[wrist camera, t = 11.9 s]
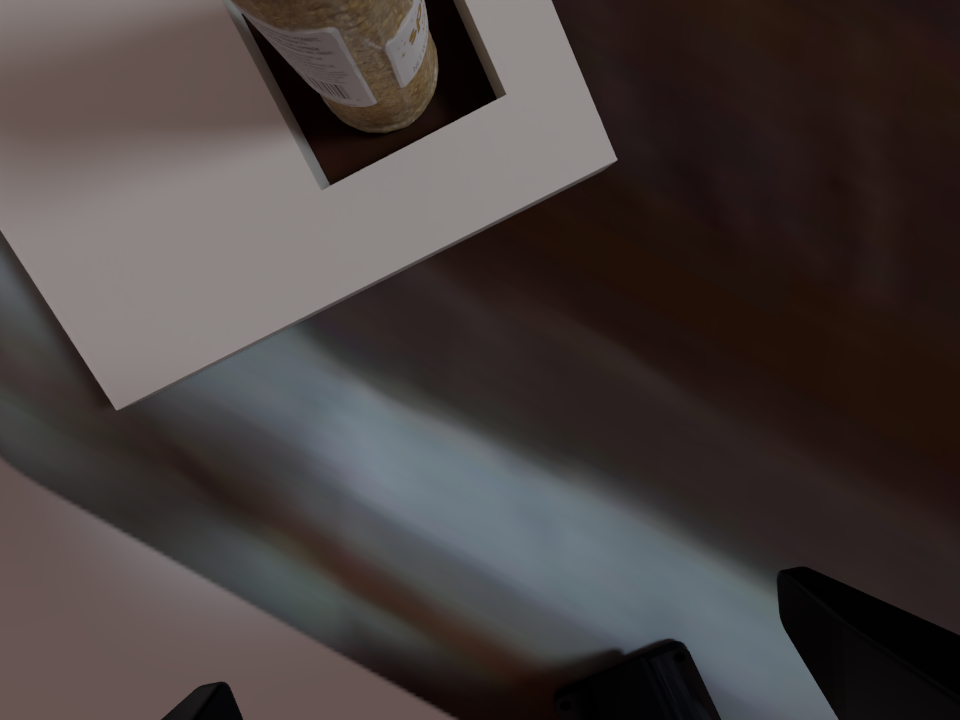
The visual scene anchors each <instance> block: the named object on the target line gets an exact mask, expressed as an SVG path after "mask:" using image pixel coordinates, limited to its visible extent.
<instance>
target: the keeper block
mask: <svg viewBox="0 0 960 720" xmlns="http://www.w3.org/2000/svg"><path fill="white" fill-rule="evenodd" d="M453 1H454V3H455V5H456V8H457V10H458V12H459V14H460V17H461V19H462V21H463V23H464V26H465V28H466V30H467V32H468V35H469V37H470V39H471V41H472V44H473V46H474V48H475V50H476V53H477V55H478V57H479V59H480V62H481V64H482V66H483V68H484V71H485V73H486V75H487V77H488V80H489V82H490V84H491V86H492V89H493V91H494V93H495V95H496V98H497V100H495V101H493V102H491V103H489V104H487V105H485V106H483V107H481V108H479V109H478V110H476V111H474V112H472V113H470V114H468V115H466V116H464V117H462V118H460V119H458V120H456V121H454V122H452V123H451V124H449V125H447V126H445V127H443V128H441V129H439V130H437V131H435V132H433V133H431V134H429V135H427V136H425V137H424V138H422V139H420V140H418V141H416V142H414V143H412V144H410V145H408V146H406V147H404V148H402V149H400V150H399V151H397V152H395V153H393V154H391V155H389V156H387V157H385V158H383V159H381V160H379V161H377V162H375V163H373V164H372V165H370V166H368V167H366V168H364V169H362V170H360V171H358V172H356V173H354V174H352V175H350V176H348V177H346V178H345V179H343V180H341V181H339V182H337V183H335V184H333V185H331V186H330V184H329V182H328V181H327V179H326V177H325V175H324V173H323V171H322V169H321V167H320V165H319V163H318V161H317V159H316V157H315V155H314V153H313V152H312V150H311V148H310V146H309V144H308V142H307V140H306V138H305V136H304V134H303V132H302V130H301V128H300V126H299V125H298V123H297V121H296V119H295V117H294V115H293V113H292V111H291V109H290V107H289V105H288V103H287V101H286V99H285V97H284V96H283V94H282V92H281V90H280V88H279V86H278V84H277V82H276V80H275V78H274V76H273V74H272V72H271V70H270V69H269V67H268V65H267V63H266V61H265V59H264V57H263V55H262V53H261V51H260V49H259V47H258V45H257V43H256V41H255V40H254V38H253V36H252V34H251V32H250V30H249V28H248V26H247V24H246V22H245V20H244V18H243V16H242V14H243V13H242V12H241V11H240V10H239V9H238V8H237V7H236V6H235V5H234V4H233V3H232V1H231V0H0V230H1V232H2V233H3V235H4V237H5V238H6V240H7V241H8V243H9V244H10V246H11V247H12V249H13V251H14V252H15V254H16V255H17V257H18V258H19V260H20V261H21V263H22V265H23V266H24V268H25V269H26V271H27V272H28V274H29V275H30V277H31V278H32V280H33V282H34V283H35V285H36V286H37V288H38V289H39V291H40V292H41V294H42V296H43V297H44V299H45V300H46V302H47V303H48V305H49V306H50V308H51V310H52V311H53V313H54V314H55V316H56V317H57V319H58V320H59V322H60V324H61V325H62V327H63V328H64V330H65V331H66V333H67V334H68V336H69V338H70V339H71V341H72V342H73V344H74V345H75V347H76V348H77V350H78V352H79V353H80V355H81V356H82V358H83V359H84V361H85V362H86V364H87V366H88V367H89V369H90V370H91V372H92V373H93V375H94V376H95V378H96V379H97V381H98V383H99V384H100V386H101V387H102V389H103V390H104V392H105V393H106V395H107V397H108V398H109V400H110V401H111V403H112V404H113V406H114V407H115V409H116V411H117V410H120V409H122V408H125V407H127V406H129V405H132V404H134V403H137V402H139V401H142V400H144V399H147V398H149V397H152V396H154V395H156V394H158V393H160V392H162V391H164V390H166V389H168V388H170V387H172V386H174V385H176V384H178V383H180V382H182V381H184V380H186V379H188V378H190V377H192V376H194V375H196V374H198V373H200V372H202V371H204V370H206V369H208V368H210V367H212V366H214V365H216V364H218V363H220V362H222V361H224V360H226V359H228V358H230V357H232V356H234V355H236V354H238V353H240V352H242V351H244V350H246V349H248V348H250V347H252V346H254V345H256V344H258V343H260V342H262V341H264V340H266V339H268V338H270V337H272V336H274V335H276V334H278V333H279V332H281V331H283V330H285V329H287V328H289V327H291V326H293V325H295V324H297V323H299V322H301V321H303V320H305V319H307V318H309V317H311V316H313V315H315V314H317V313H319V312H321V311H323V310H325V309H327V308H329V307H331V306H333V305H335V304H337V303H339V302H341V301H343V300H345V299H347V298H349V297H351V296H353V295H355V294H357V293H359V292H361V291H363V290H365V289H367V288H369V287H371V286H373V285H375V284H377V283H379V282H381V281H383V280H385V279H387V278H389V277H391V276H393V275H395V274H397V273H399V272H401V271H403V270H405V269H407V268H409V267H411V266H413V265H415V264H417V263H419V262H421V261H423V260H425V259H427V258H429V257H431V256H433V255H435V254H437V253H439V252H441V251H443V250H445V249H447V248H449V247H451V246H453V245H455V244H457V243H459V242H461V241H463V240H465V239H467V238H469V237H471V236H473V235H475V234H477V233H479V232H481V231H483V230H485V229H487V228H489V227H491V226H493V225H495V224H497V223H499V222H501V221H503V220H505V219H507V218H509V217H511V216H513V215H515V214H517V213H519V212H521V211H523V210H525V209H527V208H529V207H531V206H533V205H535V204H537V203H539V202H541V201H543V200H545V199H547V198H549V197H551V196H553V195H555V194H557V193H559V192H561V191H563V190H565V189H567V188H569V187H571V186H573V185H575V184H577V183H579V182H581V181H583V180H585V179H587V178H589V177H591V176H593V175H595V174H597V173H599V172H601V171H603V170H604V169H606V168H607V167H609V166H610V165H611V164H613V163H614V162H615V161H617V158H616V156H615V153H614V151H613V149H612V146H611V144H610V141H609V139H608V137H607V134H606V132H605V129H604V127H603V124H602V122H601V120H600V117H599V115H598V112H597V110H596V107H595V105H594V103H593V100H592V98H591V95H590V93H589V91H588V88H587V86H586V83H585V81H584V78H583V76H582V74H581V71H580V69H579V66H578V64H577V62H576V59H575V57H574V54H573V52H572V49H571V47H570V45H569V42H568V40H567V37H566V35H565V32H564V30H563V28H562V25H561V23H560V20H559V18H558V16H557V13H556V11H555V8H554V6H553V3H552V1H551V0H453Z"/></svg>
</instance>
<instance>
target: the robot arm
mask: <svg viewBox="0 0 960 720" xmlns="http://www.w3.org/2000/svg"><path fill="white" fill-rule="evenodd" d="M777 592H778V604H779V614H780V619H781V622H782V624H783V627H784V629H785V631H786V633H787V634H788V636H789V638H790V639H791V641H792V643H793V644H794V646H795V648H796V649H797V651H798V653H799V654H800V656H801V658H802V659H803V661H804V663H805V664H806V666H807V668H808V669H809V671H810V673H811V674H812V676H813V678H814V679H815V681H816V683H817V684H818V686H819V688H820V689H821V691H822V693H823V694H824V696H825V698H826V699H827V701H828V703H829V704H830V706H831V708H832V709H833V711H834V713H835V714H836V716H837V718H838V719H839V720H960V635H958V634H955V633H953V632H951V631H949V630H946V629H944V628H942V627H940V626H937V625H935V624H933V623H931V622H929V621H926V620H924V619H922V618H920V617H917V616H915V615H913V614H911V613H908V612H906V611H904V610H902V609H900V608H897V607H895V606H893V605H891V604H888V603H886V602H884V601H882V600H879V599H877V598H875V597H873V596H871V595H868V594H866V593H864V592H862V591H859V590H857V589H855V588H853V587H850V586H848V585H846V584H844V583H841V582H839V581H837V580H835V579H833V578H830V577H828V576H826V575H824V574H821V573H819V572H817V571H815V570H812V569H810V568H807V567H795V568H790V569H785V570H781V571H780V572H778V574H777ZM677 653H681V654H679V655H678V656H674V655H675V654H677ZM553 701H554V706H555V710H556V712H557V714H558V716H559V717H560V719H561V720H721V718H720V716H719V714H718V712H717V710H716V708H715V706H714V704H713V701H712V699H711V697H710V695H709V693H708V691H707V689H706V686H705V684H704V682H703V680H702V678H701V676H700V674H699V672H698V669H697V667H696V665H695V663H694V661H693V659H692V657H691V654H690V652H689V651H688V649H687V647H686V646H685V644H684V643H682V642H680V641H674V642H671V643H668V644H666V645H664V646H661V647H659V648H657V649H654V650H652V651H650V652H647V653H645V654H643V655H640V656H638V657H636V658H633V659H631V660H629V661H626V662H624V663H621V664H619V665H617V666H614V667H612V668H610V669H607V670H605V671H603V672H600V673H598V674H596V675H593V676H591V677H589V678H586V679H584V680H582V681H579V682H577V683H575V684H572V685H570V686H568V687H565V688H563V689H560V690H559V691H557V692H556V693H555V695H554V698H553ZM563 701H568V702H567V703H562V702H563ZM161 720H243V718H242V716H241V713H240V710H239V708H238V706H237V703H236V701H235V698H234V696H233V693H232V691H231V689H230V687H229V685H228V684H227V683H225V682H216V683H211V684H206V685H202V686H200V687H198V688H196V689H195V690H194V691H193V692H192V693H191V694H189V695H188V696H187V697H186V698H185V699H184V700H183V701H182V702H180V703H179V704H178V705H177V706H176V707H175V708H174V709H173V710H171V711H170V712H169V713H168V714H167V715H166V716H165V717H164V718H163V719H161Z"/></svg>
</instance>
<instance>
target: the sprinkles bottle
mask: <svg viewBox="0 0 960 720" xmlns="http://www.w3.org/2000/svg"><path fill="white" fill-rule="evenodd" d="M231 1H232V3H233V4H234V5H235V6H236V7H237V8H238V9H239V10H240V11H241V12H242V13H243V14H244V15H245V16H246V18H247V19H248V20H249V21H250V22H251V23H252V24H253V25H254V26H255V27H256V28H257V29H258V30H259V31H260V33H261V34H262V35H263V36H264V37H265V38H266V39H267V40H268V41H269V42H270V43H271V44H272V45H273V47H274V48H275V49H276V50H277V51H278V52H279V53H280V54H281V55H282V56H283V57H284V58H285V60H286V61H287V62H288V63H289V64H290V65H291V66H292V67H293V68H294V69H295V70H296V71H297V73H298V74H299V75H300V76H301V77H302V78H303V79H304V80H305V81H306V82H307V83H308V84H309V85H310V86H311V87H312V88H313V89H314V90H315V91H317V92H318V93H320V95H321V97H322V99H323V100H324V102H325V103H326V104H327V105H328V107H329V108H330V110H331V111H332V112H333V113H334V114H336V116H337V117H338V118H339V119H341V120H342V121H343V122H344V123H346V124H348V125H349V126H352V127H354V128H356V129H359V130H361V131H365V132H373V133H388V132H390V131H395V130H398V129H402V128H405V127H407V126H408V125H410V124H411V123H412V122H414V121H415V120H416V119H417V118H418V117H419V116H420V115H421V114H422V113H423V111H424V110H425V108H426V106H427V105H428V103H429V102H430V100H431V98H432V96H433V94H434V91H435V88H436V84H437V76H438V58H437V49H436V46H435V43H434V41H433V39H432V36H431V33H430V31H429V29H428V18H427V11H426V6H425V1H424V0H231Z"/></svg>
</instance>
